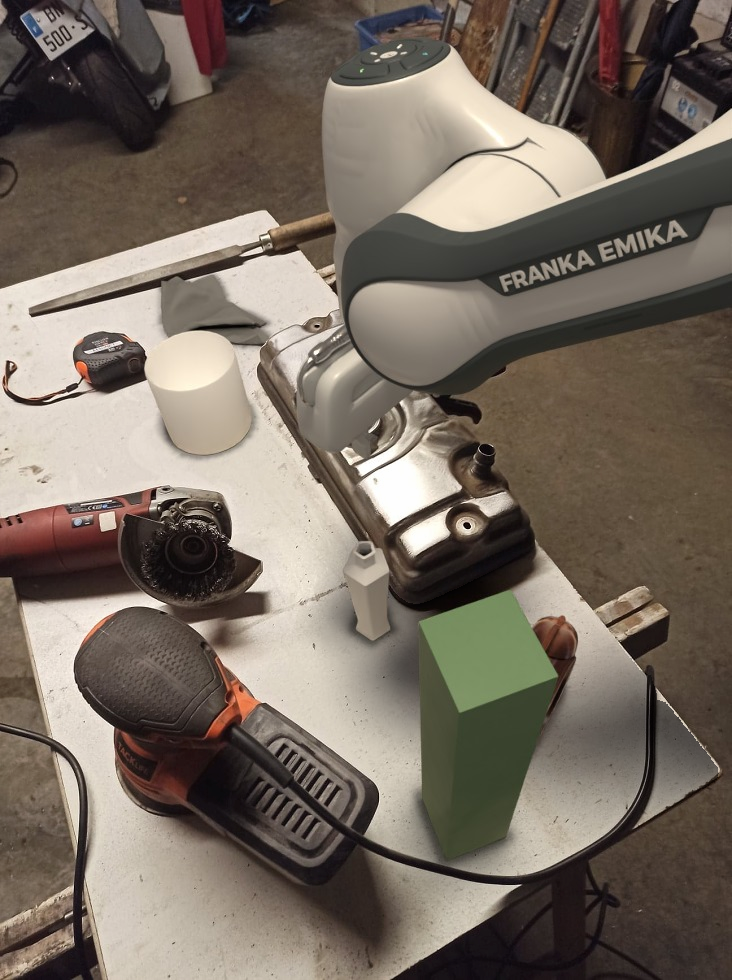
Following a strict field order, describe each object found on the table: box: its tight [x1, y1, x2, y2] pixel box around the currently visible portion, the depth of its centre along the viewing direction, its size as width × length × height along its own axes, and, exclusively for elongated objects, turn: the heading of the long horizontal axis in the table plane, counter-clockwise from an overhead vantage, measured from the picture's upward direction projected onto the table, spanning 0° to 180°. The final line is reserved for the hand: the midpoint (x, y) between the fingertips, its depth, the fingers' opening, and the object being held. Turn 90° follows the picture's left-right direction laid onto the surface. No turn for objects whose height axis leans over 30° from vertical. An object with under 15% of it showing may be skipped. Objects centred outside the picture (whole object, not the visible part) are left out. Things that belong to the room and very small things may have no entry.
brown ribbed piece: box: [532, 614, 579, 740], centre depth 70 cm, size 11×5×15 cm, turn 147°
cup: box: [143, 331, 253, 456], centre depth 99 cm, size 12×12×12 cm
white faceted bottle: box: [342, 540, 391, 642], centre depth 77 cm, size 5×4×15 cm
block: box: [418, 589, 558, 862], centre depth 56 cm, size 6×6×35 cm
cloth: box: [160, 274, 270, 345], centre depth 118 cm, size 26×14×2 cm, turn 36°
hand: (402, 420), depth 65 cm, fingers open, 8 cm apart
